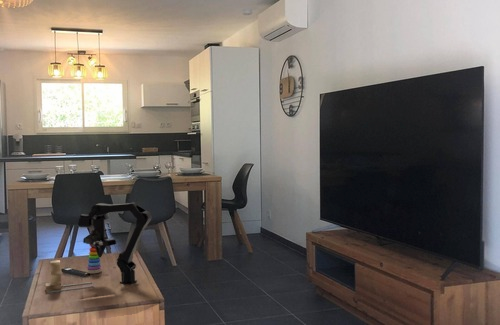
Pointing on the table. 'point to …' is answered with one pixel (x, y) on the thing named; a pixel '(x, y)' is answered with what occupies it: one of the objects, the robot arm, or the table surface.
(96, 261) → the stacking toy
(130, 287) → the table surface
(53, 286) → the stepped wooden block
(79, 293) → the table surface
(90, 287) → the track
